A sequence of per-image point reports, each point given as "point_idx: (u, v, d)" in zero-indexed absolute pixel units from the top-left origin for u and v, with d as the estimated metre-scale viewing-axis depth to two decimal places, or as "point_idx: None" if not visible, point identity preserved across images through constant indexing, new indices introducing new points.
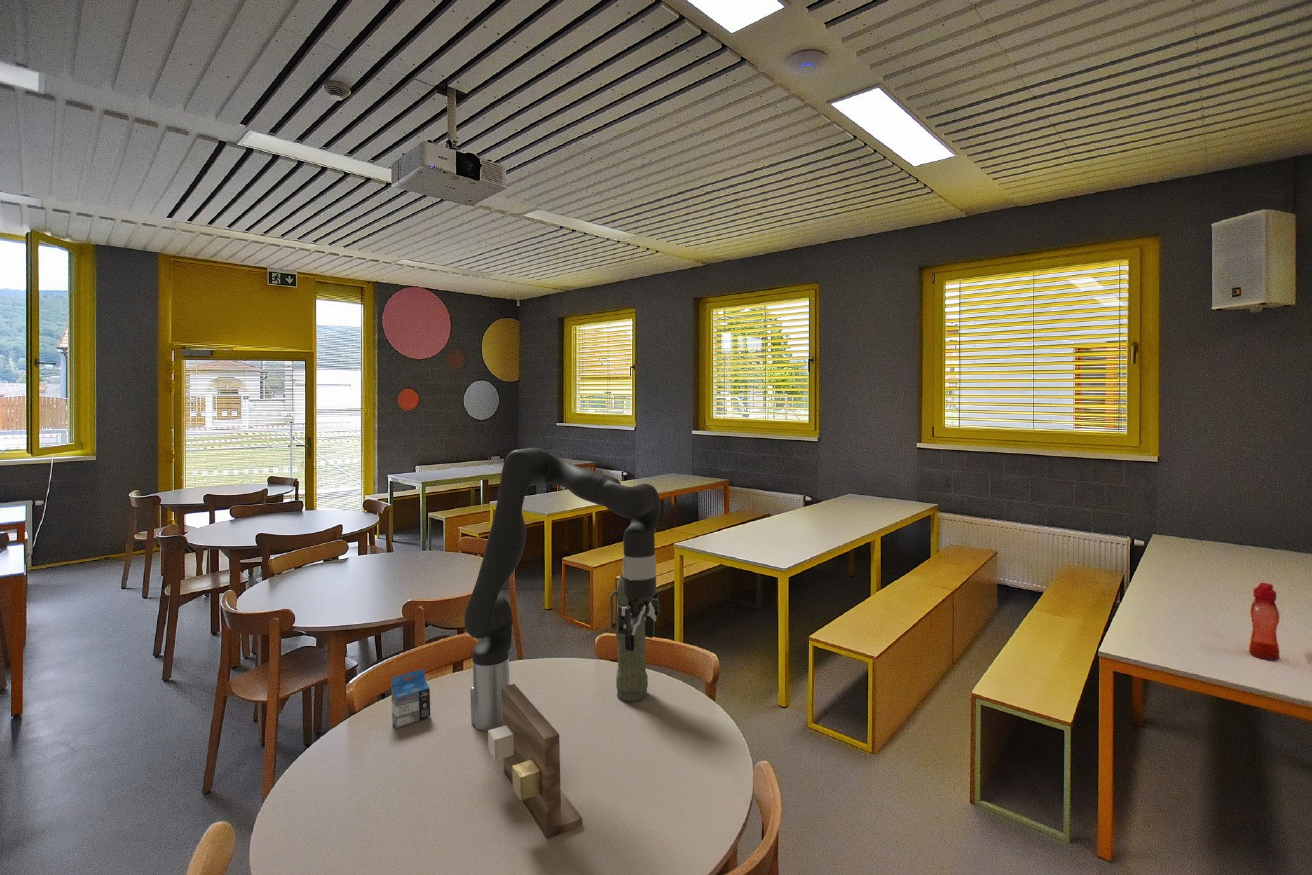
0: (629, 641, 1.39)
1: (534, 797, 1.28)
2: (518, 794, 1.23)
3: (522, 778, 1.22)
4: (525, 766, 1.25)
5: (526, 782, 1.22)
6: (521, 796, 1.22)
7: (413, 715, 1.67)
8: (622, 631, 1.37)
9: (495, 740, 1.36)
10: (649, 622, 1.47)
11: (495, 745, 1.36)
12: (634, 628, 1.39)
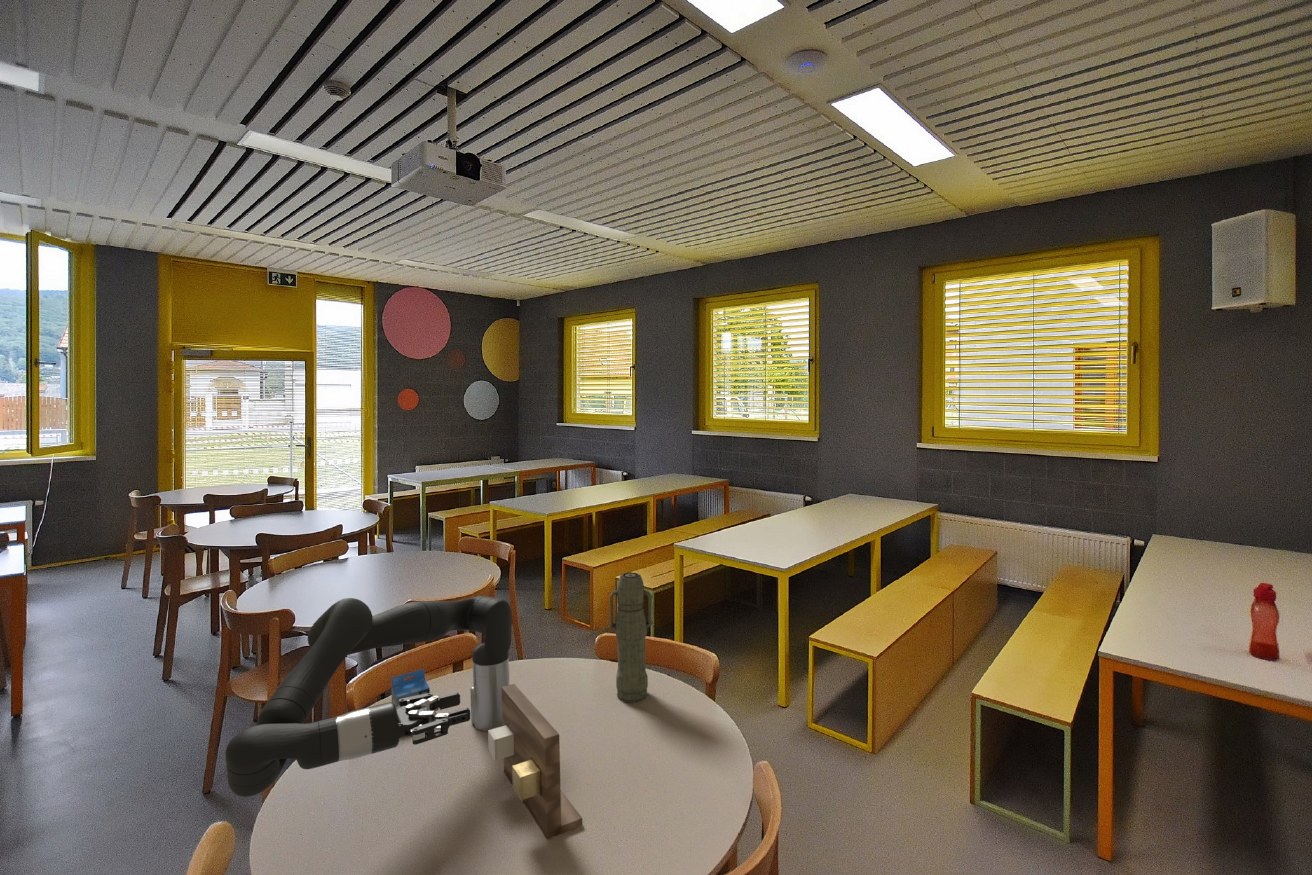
0: None
1: (534, 797, 1.28)
2: (518, 794, 1.23)
3: (522, 778, 1.22)
4: (525, 766, 1.25)
5: (526, 782, 1.22)
6: (521, 796, 1.22)
7: None
8: None
9: (495, 740, 1.36)
10: None
11: (495, 745, 1.36)
12: None
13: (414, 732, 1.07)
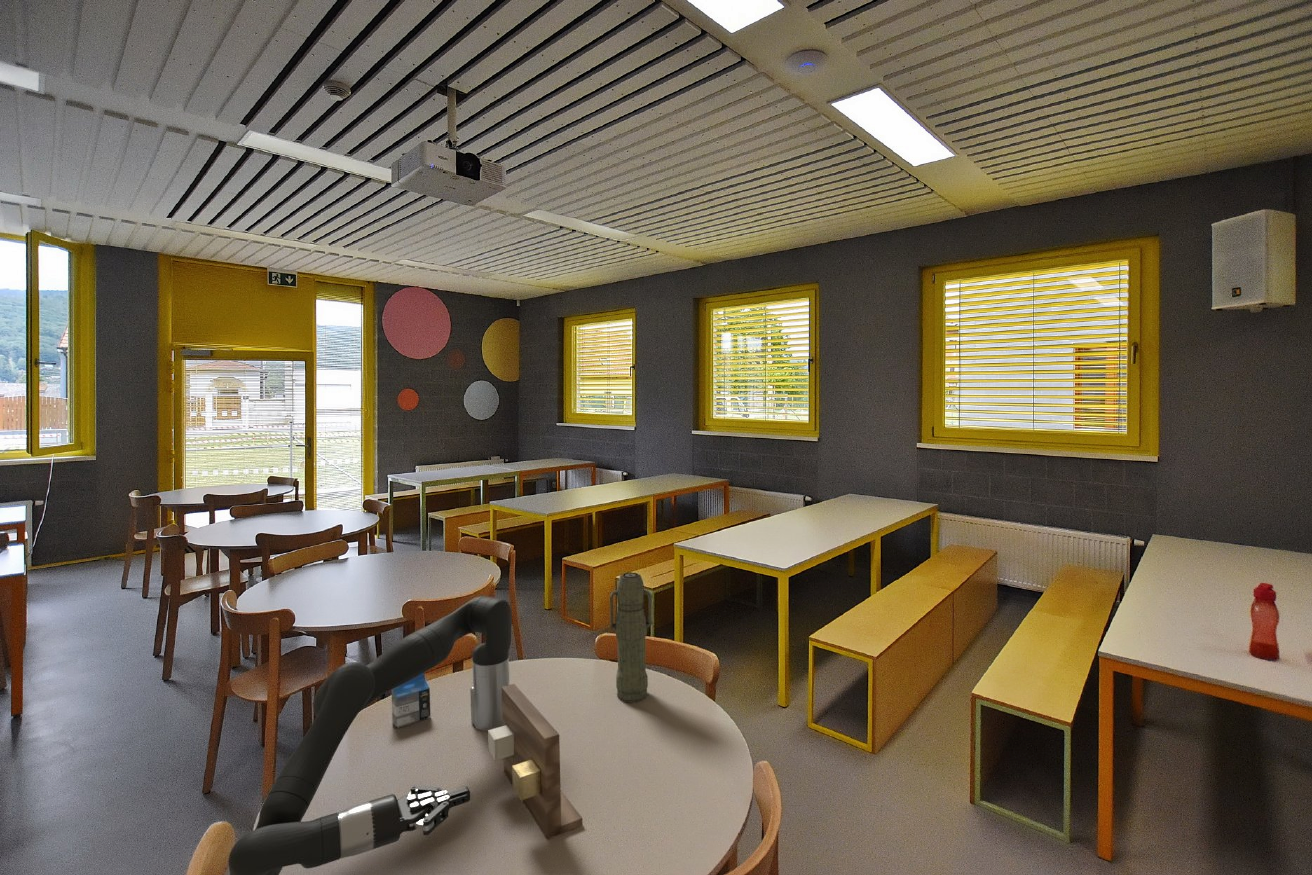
0: None
1: (534, 797, 1.28)
2: (518, 794, 1.23)
3: (522, 778, 1.22)
4: (525, 766, 1.25)
5: (526, 782, 1.22)
6: (521, 796, 1.22)
7: (413, 715, 1.67)
8: None
9: (495, 740, 1.36)
10: None
11: (495, 745, 1.36)
12: None
13: (426, 823, 1.09)
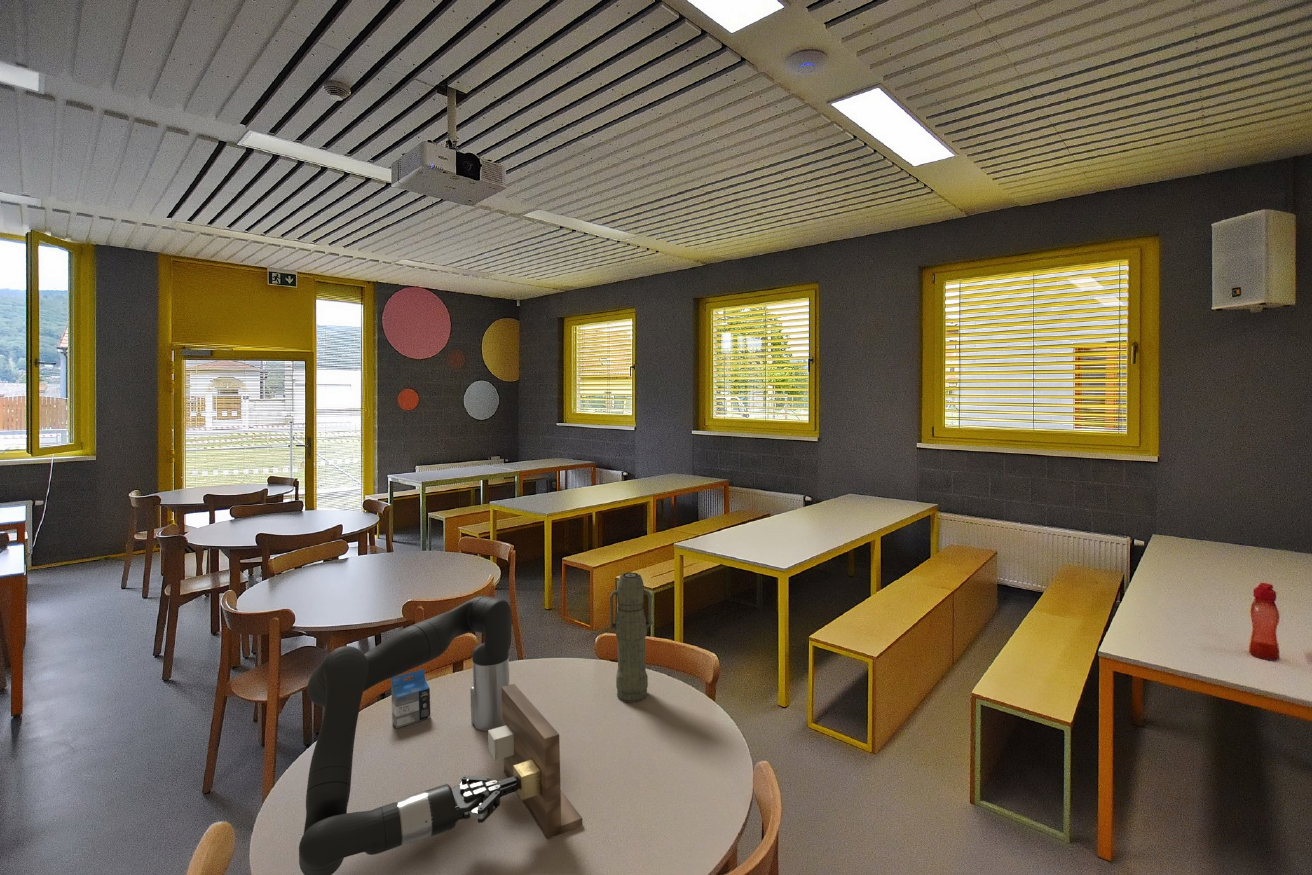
0: None
1: (534, 797, 1.28)
2: (519, 794, 1.23)
3: (523, 778, 1.22)
4: (526, 766, 1.26)
5: (527, 781, 1.23)
6: (522, 796, 1.22)
7: (413, 715, 1.67)
8: None
9: (495, 740, 1.36)
10: None
11: (495, 745, 1.36)
12: None
13: (481, 811, 1.14)
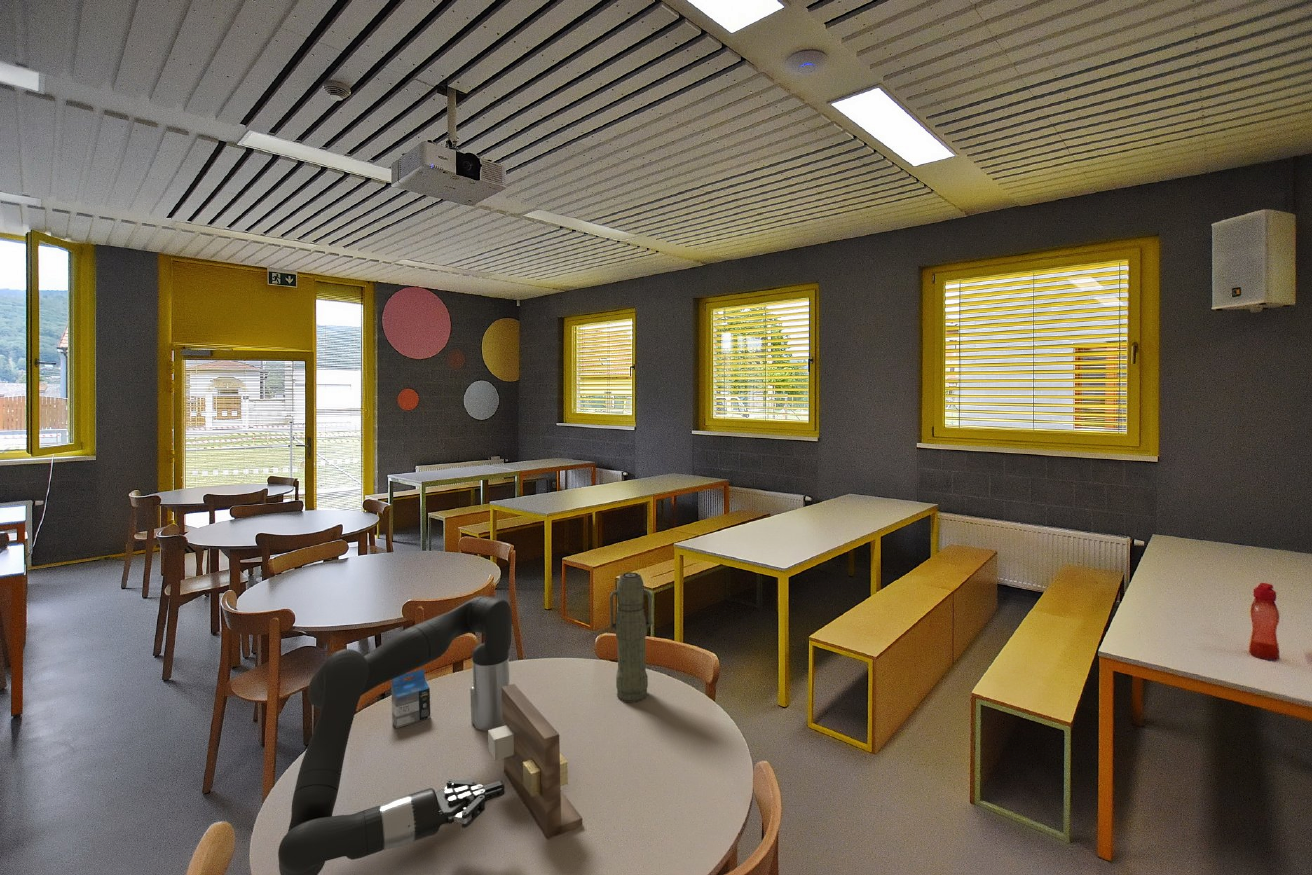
0: None
1: (534, 797, 1.28)
2: (529, 790, 1.24)
3: (533, 774, 1.23)
4: None
5: (536, 778, 1.24)
6: (532, 792, 1.23)
7: (413, 715, 1.67)
8: None
9: (495, 740, 1.36)
10: None
11: (495, 745, 1.36)
12: None
13: (465, 816, 1.13)
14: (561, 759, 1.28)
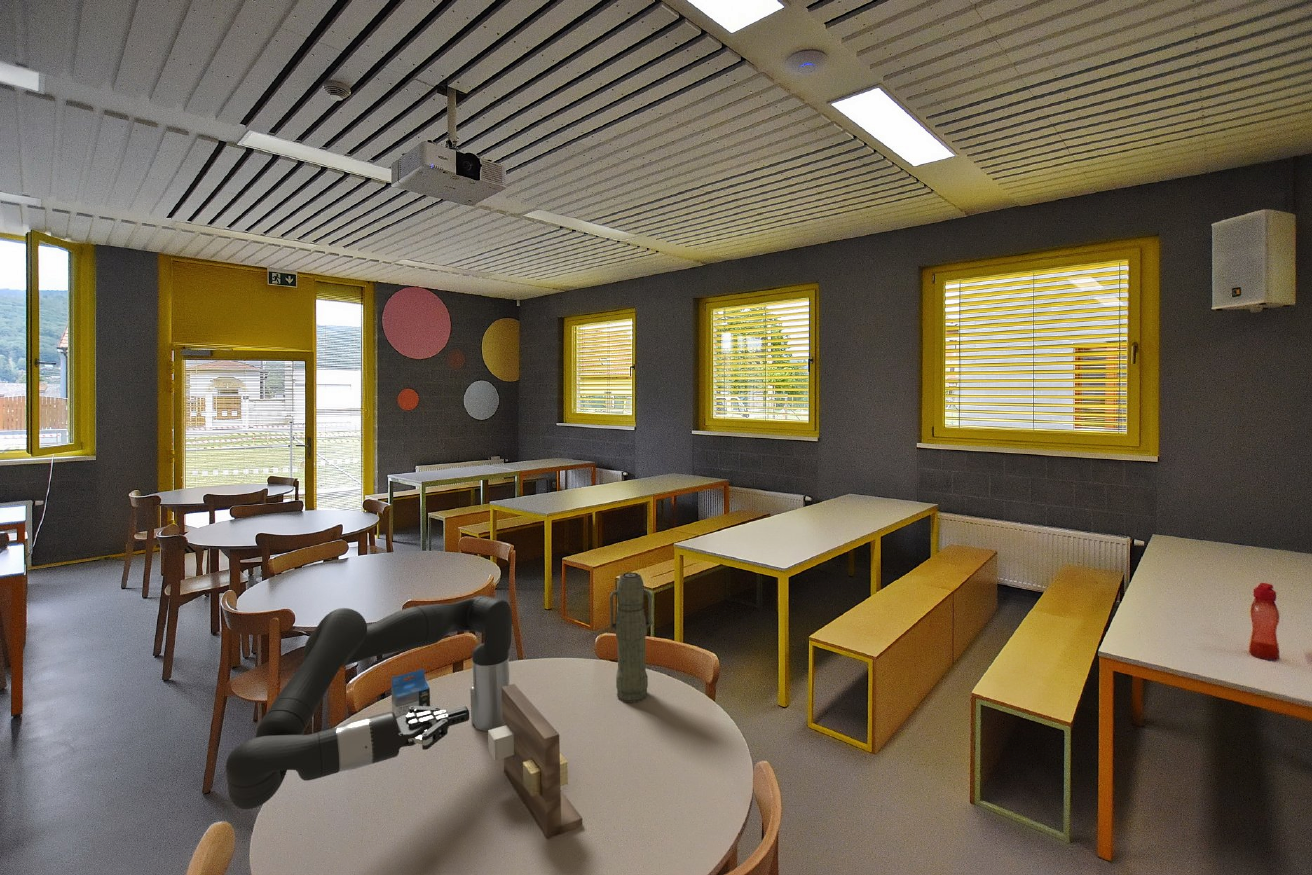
0: None
1: (534, 797, 1.28)
2: (529, 790, 1.24)
3: (533, 774, 1.23)
4: None
5: (536, 778, 1.24)
6: (532, 792, 1.23)
7: None
8: None
9: (495, 740, 1.36)
10: None
11: (495, 745, 1.36)
12: None
13: (425, 737, 1.08)
14: (561, 759, 1.28)
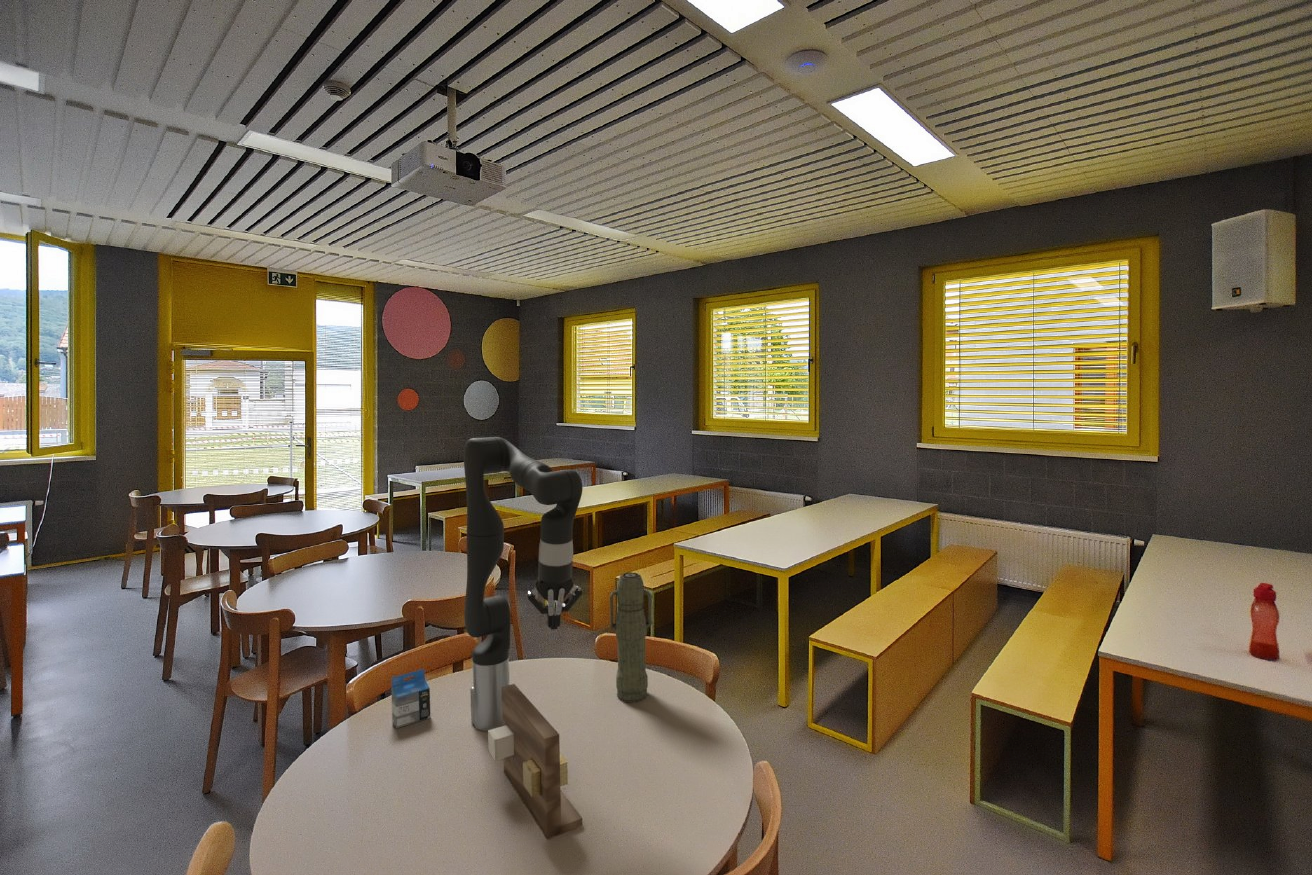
0: (548, 619, 1.44)
1: (534, 797, 1.28)
2: (529, 790, 1.24)
3: (533, 774, 1.23)
4: None
5: (536, 778, 1.24)
6: (532, 792, 1.23)
7: (413, 715, 1.67)
8: None
9: (495, 740, 1.36)
10: (554, 614, 1.44)
11: (495, 745, 1.36)
12: (550, 609, 1.43)
13: None
14: (561, 759, 1.28)
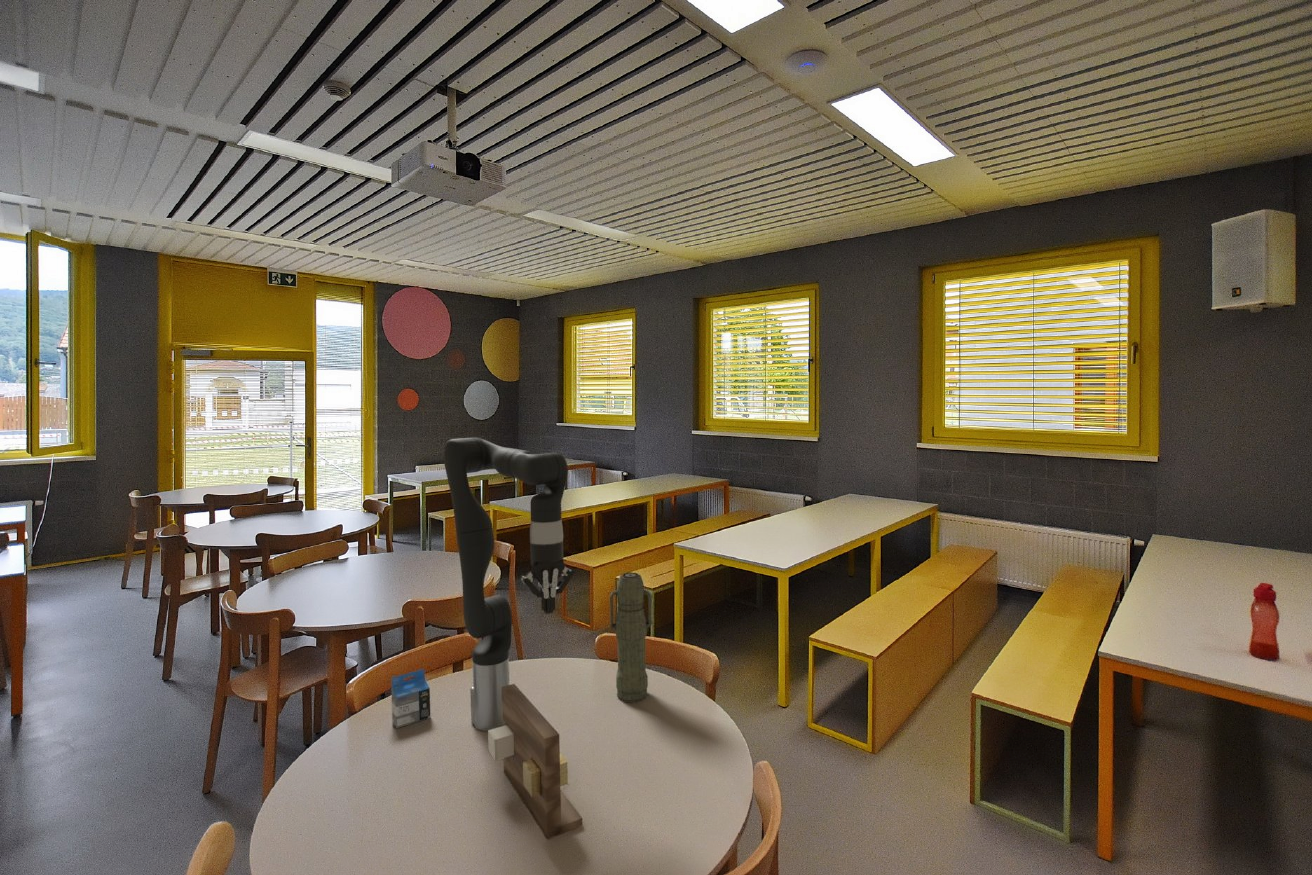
0: (543, 603, 1.47)
1: (534, 797, 1.28)
2: (529, 790, 1.24)
3: (533, 774, 1.23)
4: None
5: (536, 778, 1.24)
6: (532, 792, 1.23)
7: (413, 715, 1.67)
8: None
9: (495, 740, 1.36)
10: None
11: (495, 745, 1.36)
12: (546, 592, 1.46)
13: None
14: (561, 759, 1.28)
